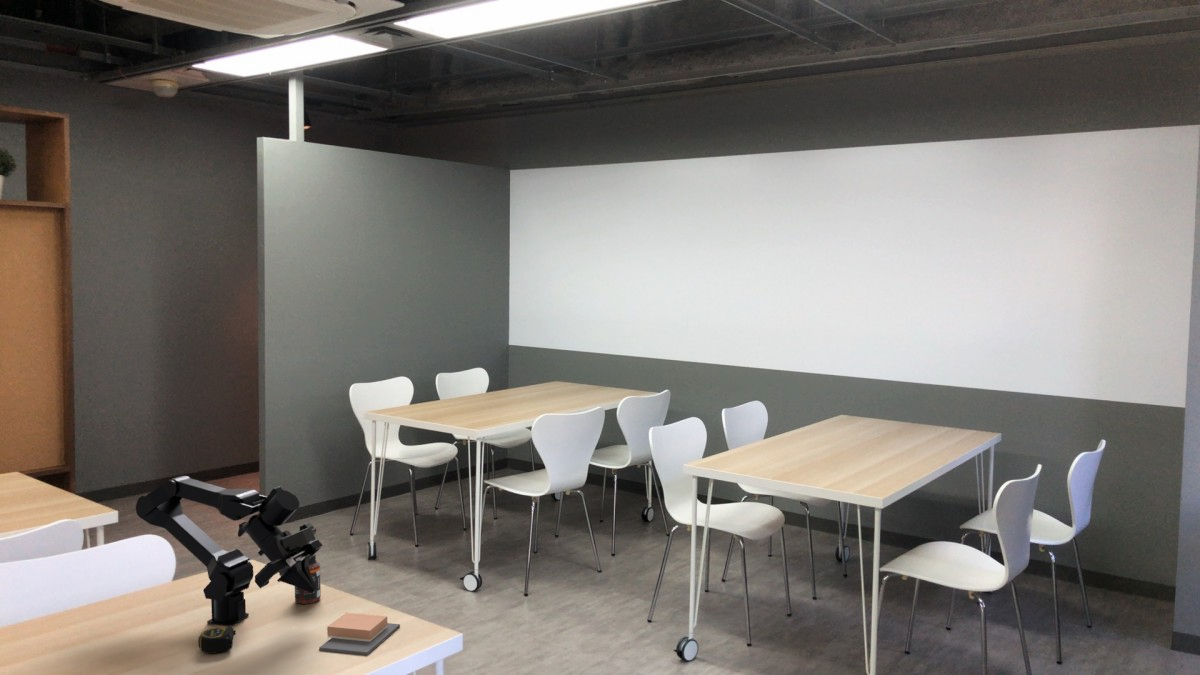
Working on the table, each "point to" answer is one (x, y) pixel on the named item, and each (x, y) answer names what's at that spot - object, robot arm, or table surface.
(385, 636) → the mat
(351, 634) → the tile
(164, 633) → the table surface
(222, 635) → the tape measure
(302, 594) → the supplement bottle
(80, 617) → the table surface
